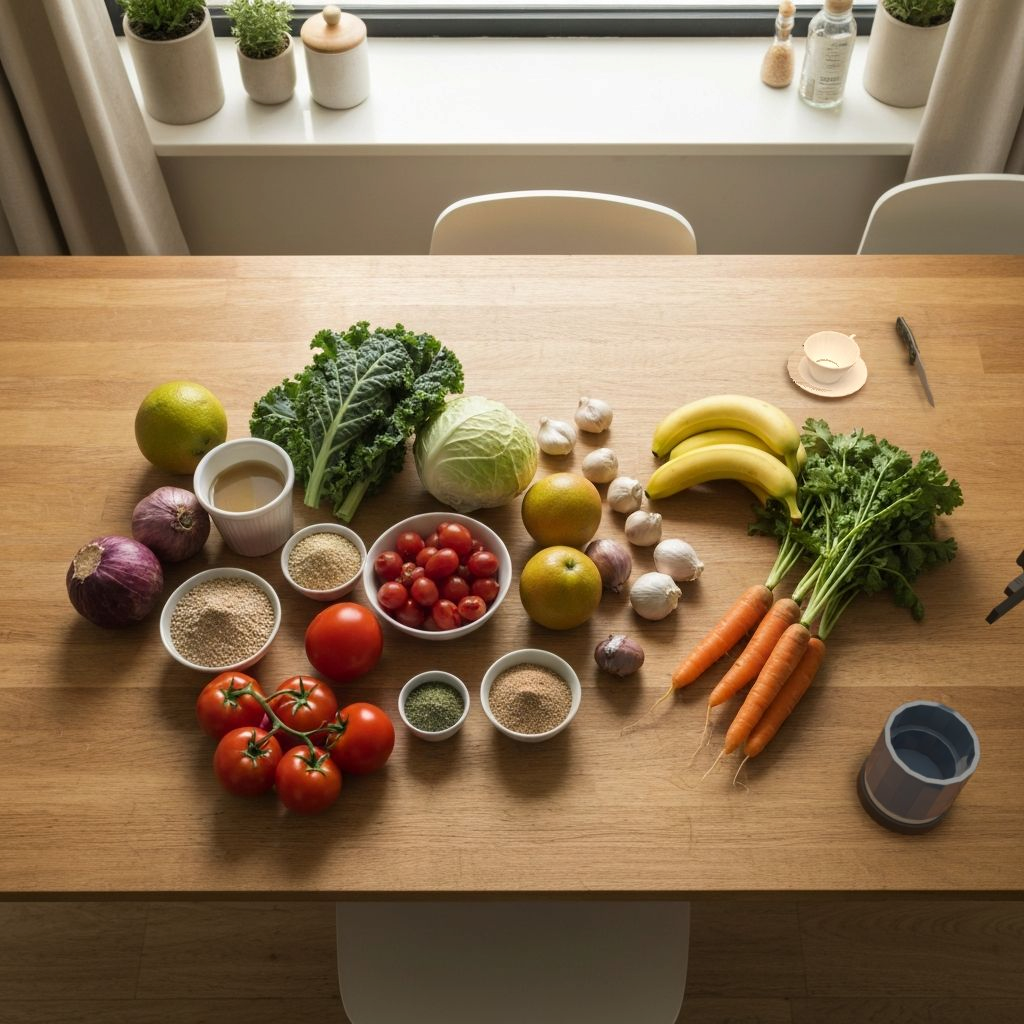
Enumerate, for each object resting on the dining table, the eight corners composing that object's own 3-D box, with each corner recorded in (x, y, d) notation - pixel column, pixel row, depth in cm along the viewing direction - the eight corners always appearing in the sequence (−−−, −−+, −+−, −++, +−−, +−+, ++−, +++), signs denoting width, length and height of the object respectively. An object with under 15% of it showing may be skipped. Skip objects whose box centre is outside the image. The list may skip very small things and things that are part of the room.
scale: (959, 779, 123) (967, 767, 120) (930, 852, 118) (938, 841, 115) (875, 737, 126) (881, 725, 124) (843, 806, 121) (848, 795, 119)
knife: (936, 417, 158) (941, 402, 156) (926, 417, 158) (932, 403, 156) (901, 324, 171) (906, 309, 168) (893, 324, 171) (897, 310, 168)
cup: (965, 767, 120) (992, 727, 113) (936, 838, 115) (963, 801, 108) (882, 726, 124) (903, 685, 116) (851, 793, 119) (871, 755, 111)
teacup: (878, 368, 165) (887, 342, 161) (843, 414, 159) (851, 389, 155) (807, 337, 169) (814, 312, 165) (770, 381, 164) (776, 355, 159)
